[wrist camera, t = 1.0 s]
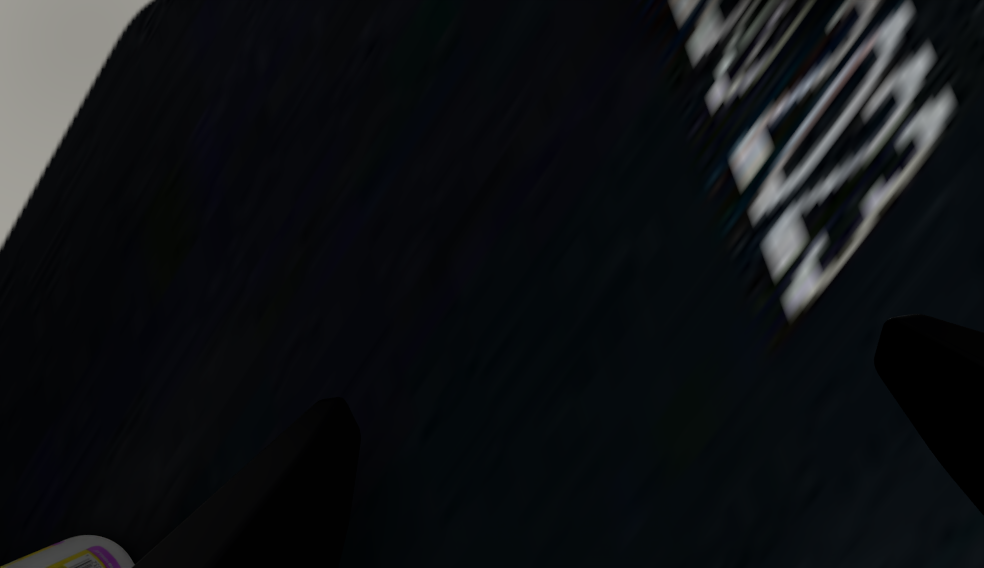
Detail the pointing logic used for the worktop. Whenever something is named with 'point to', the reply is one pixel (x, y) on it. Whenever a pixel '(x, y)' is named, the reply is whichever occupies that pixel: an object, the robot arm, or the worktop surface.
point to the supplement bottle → (77, 555)
